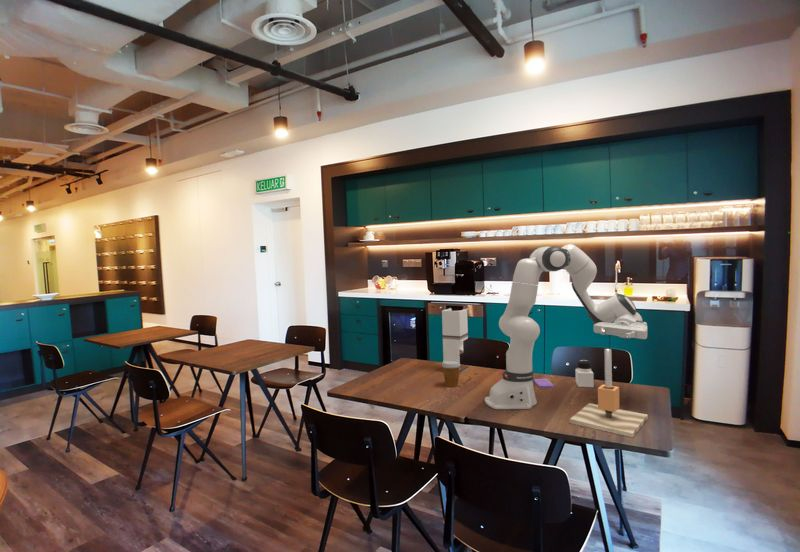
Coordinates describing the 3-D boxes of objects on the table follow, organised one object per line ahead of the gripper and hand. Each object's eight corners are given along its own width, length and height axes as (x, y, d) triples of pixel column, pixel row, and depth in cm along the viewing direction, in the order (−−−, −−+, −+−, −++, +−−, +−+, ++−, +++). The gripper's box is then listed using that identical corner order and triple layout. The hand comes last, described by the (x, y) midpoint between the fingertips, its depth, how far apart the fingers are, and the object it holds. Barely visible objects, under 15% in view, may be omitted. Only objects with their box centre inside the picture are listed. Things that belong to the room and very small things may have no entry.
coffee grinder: (461, 374, 237) (459, 311, 236) (443, 372, 243) (441, 310, 241) (468, 369, 247) (467, 308, 246) (451, 367, 253) (450, 308, 251)
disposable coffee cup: (462, 387, 213) (461, 364, 212) (443, 388, 213) (442, 364, 213) (459, 382, 222) (459, 359, 222) (441, 382, 223) (440, 360, 222)
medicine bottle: (594, 387, 206) (593, 362, 206) (578, 387, 208) (578, 362, 207) (590, 383, 213) (590, 359, 213) (575, 382, 215) (575, 359, 214)
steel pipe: (606, 414, 168) (605, 348, 167) (614, 416, 166) (613, 348, 165) (603, 417, 166) (602, 349, 164) (611, 418, 164) (610, 350, 162)
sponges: (539, 389, 208) (539, 385, 208) (533, 381, 220) (533, 378, 220) (554, 389, 208) (554, 385, 207) (547, 381, 220) (546, 378, 220)
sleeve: (603, 404, 170) (602, 384, 169) (619, 407, 166) (619, 387, 165) (598, 408, 165) (597, 388, 165) (614, 411, 161) (614, 391, 161)
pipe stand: (589, 406, 181) (589, 403, 181) (647, 418, 167) (647, 414, 167) (569, 422, 165) (569, 419, 165) (632, 437, 150) (632, 433, 150)
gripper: (599, 317, 191) (588, 323, 181) (651, 322, 177) (643, 330, 167) (598, 331, 192) (588, 338, 181) (650, 337, 178) (642, 345, 168)
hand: (615, 334), depth 174 cm, fingers open, 8 cm apart
